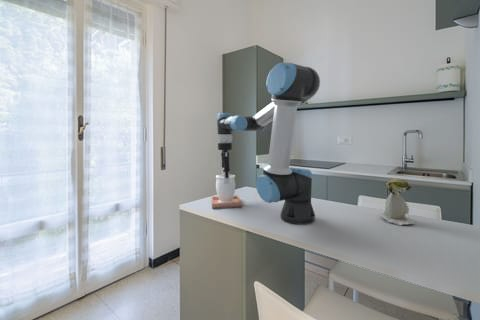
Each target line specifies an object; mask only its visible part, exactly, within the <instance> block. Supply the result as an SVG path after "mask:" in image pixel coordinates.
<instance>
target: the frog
mask: <svg viewBox="0 0 480 320" xmlns="http://www.w3.org/2000/svg"><path fill="white" fill-rule="evenodd" d="M385 187H386V188H388V191H389V195H388V196H387V197H386V201H385V204H384V205H385V206H384V212H380V217H381V218H382V219H385V221H386V222H387V223H390V224H392V223H393V224H395V225H396V226H400V227H401V226H403V225H413V224H414V225H415V224H416V223H415V221H412V220H411V218H410V216H408V215H407V214H409V212H410V208H409V205H408V204H407V202H406V201H405V199H404V196H403V195H402V193H404V192H409V191H411V190H412V189H413V187H412V186H410V185H409V182H408V181H406V180H404V179H399V178H397V179H396V178H393V179H391V180H389V181H388V182H386V183H385Z"/></svg>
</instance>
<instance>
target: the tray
mask: <svg viewBox="0 0 480 320" xmlns="http://www.w3.org/2000/svg"><path fill="white" fill-rule="evenodd" d="M210 200H211V201H210V202H211V209H212V210H213V209H228V208H230V209H231V208H242V207H243V202H242V200H241V198H240V196H239V195H238V194H237V195H236V194H234V197H233V201H234V202H229V203H219V202H218V201H219V198H218V196H217V195H216V196H210Z"/></svg>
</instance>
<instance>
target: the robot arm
mask: <svg viewBox="0 0 480 320" xmlns="http://www.w3.org/2000/svg"><path fill="white" fill-rule="evenodd" d="M320 85H321V79H320V75H319V74H318V72H317V71H316V70H315V69H313V67H309V66H303V65H300V64H296V63H293V62H280V63H277V64H275V65H273V67H272V68H271V70H270V71H269V73H268V74H267V77H266V89H267V92H268V93H269V94H270V95H271V98H270V100H271V102H270V103H268V105H266V106H265V107H264V108H262V109H260V111H258V112H257V113H255V114H254V115H252V116H247V115H246V116H244V115H232V114H231V113H230V112H221V113H220V112H219V113H218V114H217V119H216V125H217V142H218V143H217V149H218V151H221V153H220V155H221V174H224V184H229V174H230V153H229V152H228V151H231V150H233V143H232V142H233V138H234V136H233V132H263V131H265V130H266V127H267V125H268V124H270V123H271V122H272V125H271V133H270V134H271V135H270V141H269V142H270V143H269V150H268V151H269V153H268V160H267V164H266V165H265V166H264V167H263V171H262V174H261V175H259V176H258V177H257V179H256V182H255V187H256V191H257V194H258V195H259V197H260V198H261V199H262V201H264V202H266V203H268V204H271V203H272V204H273V203H278V202H281V201H284V203H283V204H282V208H281V211H280V219H281V220H282V221H284V222H285V223H289V224H292V225H293V224H294V225H307V224H312V223H314V222H315V221H316V214H315V211H314V208H313V205H312V190H313V189H312V188H313V187H312V184H313V183H312V182H313V176H312V170H310V169H307V168H301V167H290V163H291V162H290V161H291V155H292V149H293V148H292V147H293V140H294V132H295V125H296V117H297V111H298V107H299V105H303V104H305V103H306V102H308V101H309V100H311V99H312V98H313V97H315V95H316V94H317V93H318V91H319V89H320Z"/></svg>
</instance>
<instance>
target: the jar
mask: <svg viewBox="0 0 480 320" xmlns="http://www.w3.org/2000/svg"><path fill="white" fill-rule="evenodd" d="M215 178H216V181H215V190H216V196H218V198H219V201H218V202H219V203H229V202H234V201H233V197H234V195H235V192H236V181H235V178H236V175H235V174H231V173H229V184H224V174H222V173H221V174H216V175H215Z"/></svg>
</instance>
